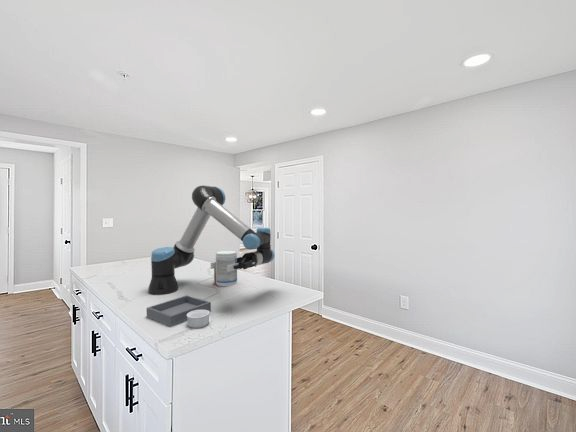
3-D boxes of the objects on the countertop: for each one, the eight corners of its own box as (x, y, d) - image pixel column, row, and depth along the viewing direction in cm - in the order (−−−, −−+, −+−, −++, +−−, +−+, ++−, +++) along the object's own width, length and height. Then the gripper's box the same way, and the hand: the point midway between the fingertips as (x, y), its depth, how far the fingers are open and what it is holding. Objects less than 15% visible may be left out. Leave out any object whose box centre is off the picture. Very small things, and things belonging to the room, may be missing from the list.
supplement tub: (240, 284, 127) (240, 252, 127) (220, 288, 122) (220, 254, 121) (232, 280, 135) (232, 249, 135) (212, 282, 130) (212, 251, 129)
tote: (146, 317, 118) (146, 307, 118) (186, 303, 135) (186, 295, 135) (170, 326, 109) (170, 316, 109) (210, 310, 125) (210, 302, 125)
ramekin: (181, 326, 109) (181, 315, 109) (196, 318, 117) (196, 308, 117) (200, 330, 106) (200, 319, 106) (214, 321, 114) (214, 310, 114)
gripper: (269, 269, 137) (237, 279, 119) (236, 264, 149) (202, 272, 131) (269, 254, 137) (237, 261, 118) (236, 250, 149) (202, 256, 130)
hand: (219, 267), depth 125 cm, fingers closed on supplement tub, 9 cm apart
